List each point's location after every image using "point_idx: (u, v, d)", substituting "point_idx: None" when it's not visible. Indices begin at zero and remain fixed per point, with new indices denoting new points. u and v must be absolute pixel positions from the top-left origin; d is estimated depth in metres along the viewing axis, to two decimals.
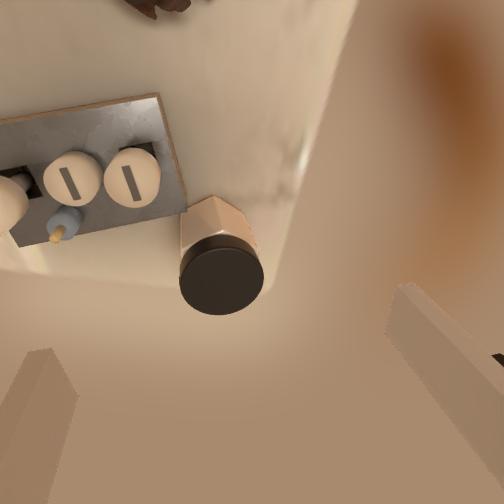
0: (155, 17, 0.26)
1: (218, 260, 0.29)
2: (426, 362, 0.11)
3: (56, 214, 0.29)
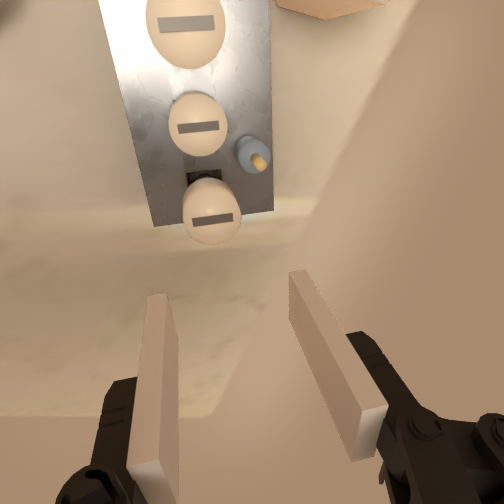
0: None
1: None
2: (306, 341, 0.13)
3: (238, 159, 0.25)
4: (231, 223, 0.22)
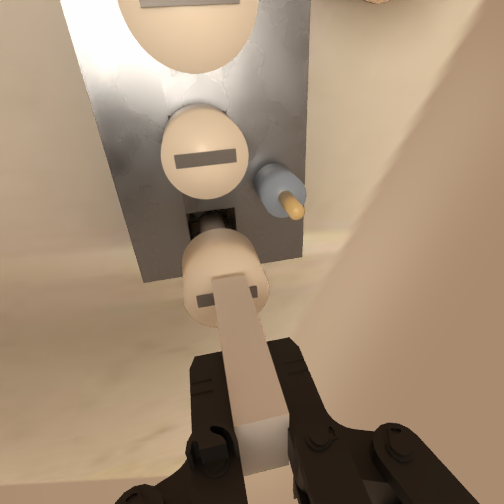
0: None
1: None
2: None
3: (261, 197, 0.18)
4: (254, 298, 0.15)
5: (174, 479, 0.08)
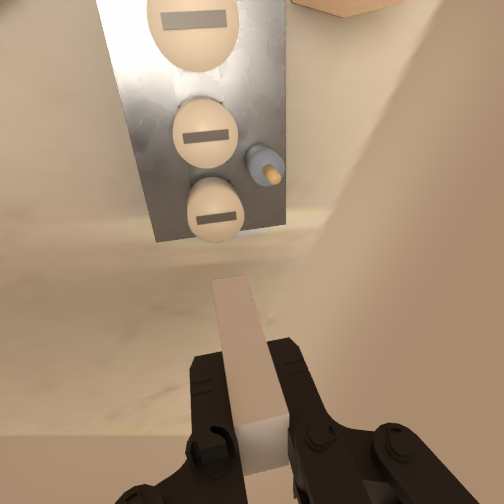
0: None
1: None
2: None
3: (249, 170, 0.23)
4: (234, 221, 0.23)
5: (174, 479, 0.08)
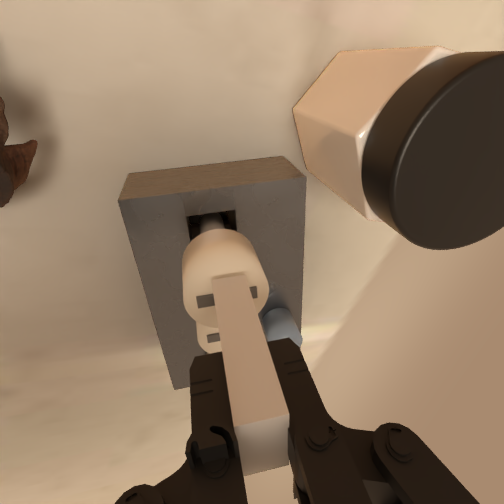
0: (32, 142, 0.17)
1: (423, 172, 0.13)
2: None
3: (268, 340, 0.23)
4: None
5: (174, 479, 0.08)
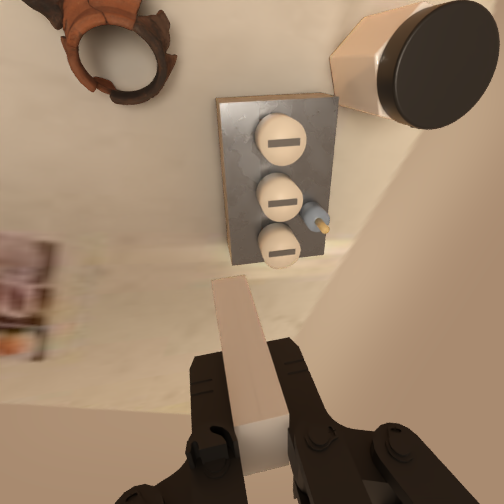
0: (175, 55, 0.27)
1: (412, 70, 0.22)
2: None
3: (305, 220, 0.33)
4: (293, 255, 0.33)
5: (174, 479, 0.08)
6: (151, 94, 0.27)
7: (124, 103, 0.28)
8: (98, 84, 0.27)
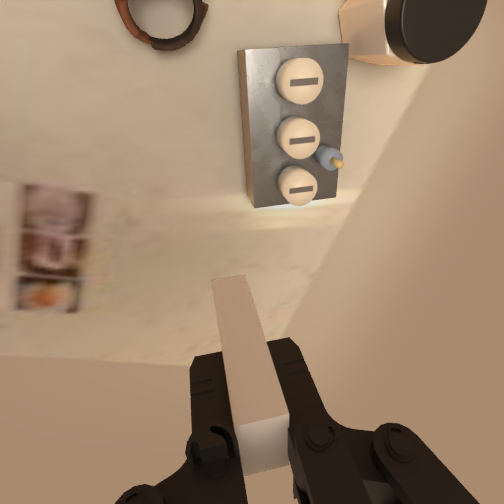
0: (207, 4, 0.31)
1: (416, 7, 0.26)
2: None
3: (320, 160, 0.37)
4: (311, 192, 0.37)
5: (174, 479, 0.08)
6: (186, 40, 0.31)
7: (163, 49, 0.31)
8: (140, 31, 0.30)
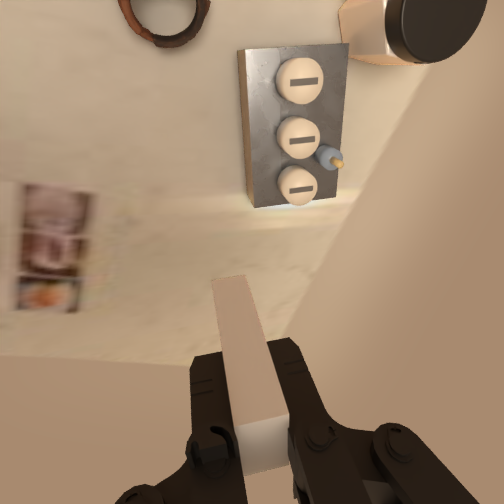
0: (209, 1, 0.31)
1: (416, 7, 0.26)
2: None
3: (320, 160, 0.37)
4: (311, 191, 0.37)
5: (174, 479, 0.08)
6: (189, 37, 0.31)
7: (165, 46, 0.31)
8: (142, 28, 0.30)
